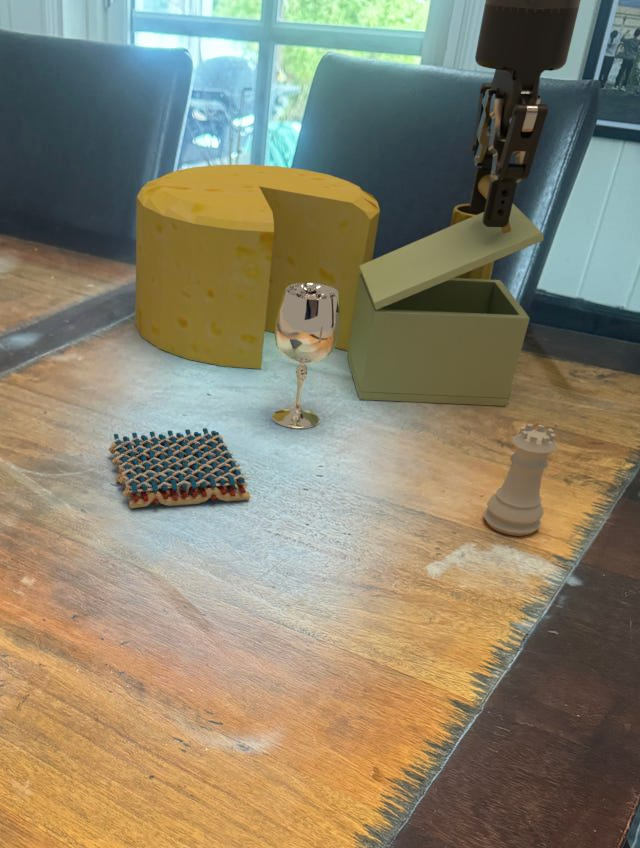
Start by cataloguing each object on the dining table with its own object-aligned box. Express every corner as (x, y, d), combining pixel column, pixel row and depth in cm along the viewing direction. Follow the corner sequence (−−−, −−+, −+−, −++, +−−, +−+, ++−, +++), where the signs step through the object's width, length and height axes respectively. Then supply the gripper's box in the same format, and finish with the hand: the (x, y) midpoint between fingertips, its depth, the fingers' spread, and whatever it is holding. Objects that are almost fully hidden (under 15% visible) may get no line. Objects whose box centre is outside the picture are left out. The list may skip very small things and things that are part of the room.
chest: (480, 362, 103) (500, 279, 98) (506, 406, 94) (530, 318, 88) (346, 356, 103) (359, 273, 98) (359, 399, 94) (374, 311, 89)
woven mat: (126, 513, 75) (126, 491, 74) (106, 453, 83) (106, 432, 82) (252, 504, 77) (254, 481, 76) (220, 446, 85) (222, 425, 84)
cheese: (345, 382, 97) (369, 229, 88) (105, 350, 102) (104, 202, 93) (370, 304, 117) (392, 172, 108) (168, 280, 122) (173, 153, 113)
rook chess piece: (548, 523, 76) (578, 431, 71) (524, 544, 73) (554, 450, 68) (497, 503, 78) (522, 413, 73) (472, 523, 75) (496, 431, 70)
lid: (511, 208, 93) (500, 157, 91) (544, 240, 84) (532, 185, 81) (361, 272, 98) (346, 226, 95) (376, 310, 89) (360, 259, 86)
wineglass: (319, 436, 87) (338, 305, 80) (259, 425, 89) (272, 296, 81) (331, 411, 92) (350, 286, 84) (273, 402, 93) (287, 277, 86)
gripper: (606, 8, 72) (548, 240, 83) (553, -5, 84) (508, 200, 94) (508, 6, 73) (462, 238, 83) (468, -7, 84) (433, 199, 94)
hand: (487, 217), depth 89 cm, fingers closed on lid, 5 cm apart
